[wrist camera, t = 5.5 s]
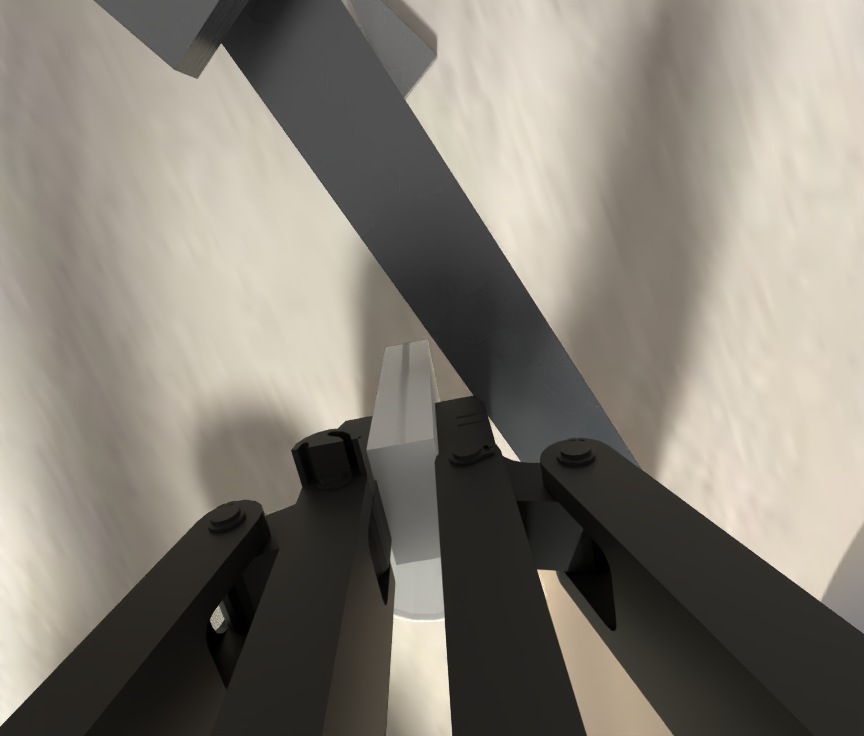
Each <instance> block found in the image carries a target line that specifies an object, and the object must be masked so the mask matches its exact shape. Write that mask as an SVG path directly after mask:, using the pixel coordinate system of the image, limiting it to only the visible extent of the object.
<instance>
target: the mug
mask: <svg viewBox="0 0 864 736" xmlns="http://www.w3.org/2000/svg"><path fill="white" fill-rule="evenodd" d="M390 562H391V566H392V569H393V573H394V577H395V582H396V583H395V598H394V614H393V617H395V618H399V619H403V620H407V621H410V622H438V621H442V620H445V616H444V601H443V586H442V570H441V558H435V559H429V560H424V561H417V562H411V563H405V564H400V565H396V562H395V558H394V555H393V551H392V547H391V557H390Z"/></svg>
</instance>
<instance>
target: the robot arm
mask: <svg viewBox="0 0 864 736" xmlns="http://www.w3.org/2000/svg"><path fill="white" fill-rule="evenodd" d="M291 451H292V455H293V458H294V461H295V464H296V468H297V471H298V474H299V477H300V480H301V484H302V489H301V492H300V495H299V498H298V500H297V503H296V504H295V505H292V506H290V507H288V508H285V509H283V510H280V511H277V512H275V513H272V514H269V515H266V516H265V514H264V511H263V508H262V505H261V504H259V503H258V502H256V501H251V500H242V501H232V502H228V503H227V504H226V503H225V504H223V505H220V506H218V507H217V508H216V509H214V510H212V511H211V512H209V513H207V514H206V515H205V516H203V517H202V518H201V519H200V520H199V521H197V522H196V523H195V524H194V526H193V527H192V528H191V529H190V530H189V531H188V532H187V533H186V534H185V535H184V536H183V537H182V538H181V539H180V540H179V541H178V542H177V543H176V544H175V545H174V546H173V547H172V548H171V549H170V551H169V552H168V553H167V554H166V555H165V556H164V557H163V558H162V559H161V560H160V561H159V562H158V563H157V564H156V565H155V566H154V567H153V568H152V569H151V570H150V571H149V572H148V573H147V574H146V575H145V577H144V578H143V579H142V580H141V581H140V582H139V583H138V584H137V585H136V586H135V587H134V588H133V589H132V590H131V591H130V592H129V593H128V594H127V595H126V596H125V597H124V598H123V599H122V600H121V602H120V603H119V604H118V605H117V606H116V607H115V608H114V609H113V610H112V611H111V612H110V613H109V614H108V615H107V616H106V617H105V618H104V619H103V620H102V621H101V622H100V623H99V624H98V625H97V627H96V628H95V629H94V630H93V631H92V632H91V633H90V634H89V635H88V636H87V637H86V638H85V639H84V640H83V641H82V642H81V643H80V644H79V645H78V646H77V647H76V648H75V649H74V650H73V652H72V653H71V654H70V655H69V656H68V657H67V658H66V659H65V660H64V661H63V662H62V663H61V664H60V665H59V666H58V667H57V668H56V669H55V670H54V671H53V672H52V673H51V674H50V675H49V676H48V678H47V679H46V680H45V681H44V682H43V683H42V684H41V685H40V686H39V687H38V688H37V689H36V690H35V691H34V692H33V693H32V694H31V695H30V696H29V697H28V698H27V699H26V700H25V701H24V703H23V704H22V705H21V706H20V707H19V708H18V709H17V710H16V711H15V712H14V713H13V714H12V715H11V716H10V717H9V718H8V719H7V720H6V721H5V722H4V723H3V724H2V725H1V726H0V736H386V725H387V709H388V693H389V678H390V662H391V646H392V630H393V614H394V598H395V583H396V582H395V577H394V573H393V569H392V566H391V562H390V557H391V547H392V551H393V555H394V558H395V562H396V565H400V564H405V563H411V562H417V561H424V560H429V559H435V558H441V570H442V586H443V601H444V616H445V631H446V647H447V662H448V677H449V692H450V708H451V723H452V736H587V734H586V730H585V727H584V724H583V721H582V717H581V714H580V711H579V707H578V704H577V701H576V697H575V694H574V691H573V687H572V684H571V681H570V678H569V674H568V671H567V668H566V664H565V661H564V658H563V654H562V651H561V648H560V645H559V641H558V638H557V635H556V631H555V628H554V625H553V621H552V618H551V615H550V611H549V608H548V605H547V602H546V598H545V595H544V592H543V588H542V585H541V582H540V578H539V575H538V572H537V570H552V571H556V575H557V577H558V580H559V582H560V584H561V585H562V587H563V588H564V589H565V591H566V592H567V593H568V595H569V596H570V597H571V599H572V600H573V601H574V603H575V604H576V605H577V607H578V608H579V609H580V611H581V612H582V613H583V615H584V616H585V617H586V619H587V620H588V621H589V623H590V624H591V625H592V627H593V628H594V629H595V631H596V632H597V633H598V635H599V636H600V638H601V639H602V640H603V642H604V643H605V644H606V646H607V647H608V648H609V650H610V651H611V652H612V654H613V655H614V656H615V658H616V659H617V660H618V662H619V663H620V664H621V666H622V667H623V668H624V670H625V671H626V672H627V674H628V675H629V676H630V678H631V679H632V680H633V682H634V683H635V684H636V686H637V687H638V689H639V690H640V691H641V693H642V694H643V695H644V697H645V698H646V699H647V701H648V702H649V703H650V705H651V706H652V707H653V709H654V710H655V711H656V713H657V714H658V715H659V717H660V718H661V719H662V721H663V722H664V723H665V725H666V726H667V727H668V729H669V730H670V731H671V733H672V734H673V735H674V736H864V634H863V633H862V632H860V631H859V630H858V629H856V628H855V627H854V626H852V625H851V624H850V623H848V622H847V621H845V620H844V619H843V618H841V617H840V616H839V615H837V614H836V613H835V612H833V611H832V610H831V609H829V608H828V607H826V606H825V605H824V604H823V603H821V602H820V601H818V600H817V599H816V598H814V597H813V596H812V595H810V594H809V593H808V592H806V591H805V590H804V589H802V588H801V587H800V586H798V585H797V584H795V583H794V582H793V581H791V580H790V579H789V578H787V577H786V576H785V575H783V574H782V573H781V572H779V571H778V570H777V569H775V568H774V567H773V566H771V565H770V564H768V563H767V562H766V561H764V560H763V559H762V558H760V557H759V556H758V555H756V554H755V553H754V552H752V551H751V550H750V549H748V548H747V547H745V546H744V545H743V544H741V543H740V542H739V541H737V540H736V539H735V538H733V537H732V536H731V535H729V534H728V533H727V532H725V531H724V530H722V529H721V528H720V527H718V526H717V525H716V524H714V523H713V522H712V521H710V520H709V519H708V518H706V517H705V516H704V515H702V514H701V513H699V512H698V511H697V510H695V509H694V508H693V507H691V506H690V505H689V504H687V503H686V502H685V501H683V500H682V499H681V498H679V497H678V496H676V495H675V494H674V493H672V492H671V491H670V490H668V489H667V488H666V487H664V486H663V485H662V484H660V483H659V482H658V481H656V480H655V479H653V478H652V477H651V476H649V475H648V474H647V473H645V472H644V471H643V470H641V469H640V468H639V467H637V466H636V465H635V464H633V463H632V462H630V461H629V460H628V459H626V458H625V457H624V456H622V455H621V454H620V453H618V452H617V451H616V450H614V449H613V448H612V447H610V446H609V445H607V444H605V443H603V442H601V441H599V440H593V439H588V438H569V439H567V440H562V441H558V442H556V443H554V444H552V445H550V446H548V447H547V448H546V449H545V450H544V451H543V452H542V453H541V457H540V463H527V462H518V461H513V460H510V459H508V458H505V457H504V456H502V453H501V450H500V449H499V447H498V446H497V445H496V444H495V440H494V436H493V433H492V429H491V426H490V422H489V419H488V415H487V412H486V408H485V404H484V402H483V401H481V400H479V399H478V398H476V397H474V396H470V397H464V398H459V399H454V400H448V401H443V402H440V397H439V392H438V387H437V382H436V377H435V372H434V368H433V363H432V358H431V353H430V348H429V343H428V339H425V340H420V341H415V342H409V343H404V344H399V345H394V346H388V347H385V351H384V357H383V362H382V368H381V373H380V379H379V384H378V390H377V395H376V401H375V406H374V412H373V416H370V417H364V418H359V419H354V420H348V421H345V422H344V423H343V424H342V425H341V426H340V427H339V428H338V429H329V430H325V431H322V432H318V433H315V434H313V435H311V436H308V437H306V438H304V439H303V440H301V441H300V442H299V443H297V444H296V445H295V446H294V448H293V449H292V450H291ZM218 605H219V607H220V609H221V612H222V614H223V617H224V619H225V620H224V621H223V623H222V624H221V625H220V627H219V628H218V629H217V630H216V631H215V630H214V629H213V627H212V625H211V622H210V618H211V616H212V614H213V612H214V611H215V609H216V608H217V607H218Z"/></svg>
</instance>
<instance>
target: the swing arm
mask: <svg viewBox="0 0 864 736" xmlns="http://www.w3.org/2000/svg"><path fill="white" fill-rule="evenodd" d="M221 43H222V45H223V46H224V47H225V49H226V50H227V52H228V53H229V54H230V56H231V57H232V59H233V60H234V61H235V63H236V64H237V66H238V67H239V68H240V70H241V71H242V72H243V74H244V75H245V77H246V78H247V79H248V81H249V82H250V84H251V85H252V86H253V88H254V89H255V91H256V92H257V93H258V95H259V96H260V98H261V99H262V100H263V102H264V103H265V105H266V106H267V107H268V109H269V110H270V112H271V113H272V114H273V116H274V117H275V119H276V120H277V121H278V123H279V124H280V126H281V127H282V128H283V130H284V131H285V133H286V134H287V135H288V137H289V138H290V140H291V141H292V142H293V144H294V145H295V147H296V148H297V149H298V151H299V152H300V154H301V155H302V156H303V158H304V159H305V161H306V162H307V163H308V165H309V166H310V168H311V169H312V170H313V172H314V173H315V174H316V176H317V177H318V179H319V180H320V181H321V183H322V184H323V186H324V187H325V188H326V190H327V191H328V193H329V194H330V195H331V197H332V198H333V200H334V201H335V202H336V204H337V205H338V207H339V208H340V209H341V211H342V212H343V214H344V215H345V216H346V218H347V219H348V221H349V222H350V223H351V225H352V226H353V228H354V229H355V230H356V232H357V233H358V235H359V236H360V237H361V239H362V240H363V242H364V243H365V244H366V246H367V247H368V249H369V250H370V251H371V253H372V254H373V256H374V257H375V258H376V260H377V261H378V263H379V264H380V265H381V267H382V268H383V269H384V271H385V272H386V274H387V275H388V276H389V278H390V279H391V281H392V282H393V283H394V285H395V286H396V288H397V289H398V290H399V292H400V293H401V295H402V296H403V297H404V299H405V300H406V302H407V303H408V304H409V306H410V307H411V309H412V310H413V311H414V313H415V314H416V316H417V317H418V318H419V320H420V321H421V323H422V324H423V325H424V327H425V328H426V330H427V331H428V332H429V334H430V335H431V337H432V338H433V339H434V341H435V342H436V344H437V345H438V346H439V348H440V349H441V351H442V352H443V353H444V355H445V356H446V358H447V359H448V360H449V362H450V363H451V365H452V366H453V367H454V369H455V370H456V371H457V373H458V374H459V376H460V377H461V378H462V380H463V381H464V383H465V384H466V385H467V387H468V388H469V390H470V391H471V392H472V394H473V395H474V397H476V398H478V399H479V400H481V401H483V402H484V404H485V408H486V412H487V415H488V416H489V418H490V419H491V420H492V422H493V423H494V425H495V426H496V427H497V429H498V430H499V432H500V433H501V434H502V436H503V437H504V439H505V440H506V441H507V443H508V444H509V446H510V447H511V448H512V450H513V451H514V453H515V454H516V455H517V457H518V458H519V460H520V461H521V462H527V463H540V457H541V453H542V452H543V451H544V450H545V449H546V448H547V447H548V446H550V445H552V444H554V443H556V442H558V441H562V440H567V439H569V438H588V439H593V440H599V441H601V442H603V443H605V444H607V445H609V446H610V447H612V448H613V449H614V450H616V451H617V452H618V453H620V454H621V455H622V456H624V457H625V458H626V459H628V460H629V461H630V462H632V463H633V464H635V465H636V466H637V467H639V468H640V466H639V465H638V463H637V462H636V460H635V459H634V457H633V455H632V454H631V452H630V451H629V449H628V448H627V446H626V445H625V443H624V441H623V440H622V438H621V437H620V435H619V434H618V432H617V430H616V429H615V427H614V426H613V424H612V423H611V421H610V420H609V418H608V416H607V415H606V413H605V412H604V410H603V409H602V407H601V405H600V404H599V402H598V401H597V399H596V398H595V396H594V395H593V393H592V391H591V390H590V388H589V387H588V385H587V384H586V382H585V380H584V379H583V377H582V376H581V374H580V373H579V371H578V369H577V368H576V366H575V365H574V363H573V362H572V360H571V359H570V357H569V355H568V354H567V352H566V351H565V349H564V348H563V346H562V344H561V343H560V341H559V340H558V338H557V337H556V335H555V334H554V332H553V330H552V329H551V327H550V326H549V324H548V323H547V321H546V319H545V318H544V316H543V315H542V313H541V312H540V310H539V309H538V307H537V305H536V304H535V302H534V301H533V299H532V298H531V296H530V294H529V293H528V291H527V290H526V288H525V287H524V285H523V284H522V282H521V280H520V279H519V277H518V276H517V274H516V273H515V271H514V269H513V268H512V266H511V265H510V263H509V262H508V260H507V259H506V257H505V255H504V254H503V252H502V251H501V249H500V248H499V246H498V244H497V243H496V241H495V240H494V238H493V237H492V235H491V233H490V232H489V230H488V229H487V227H486V226H485V224H484V223H483V221H482V219H481V218H480V216H479V215H478V213H477V212H476V210H475V208H474V207H473V205H472V204H471V202H470V201H469V199H468V198H467V196H466V194H465V193H464V191H463V190H462V188H461V187H460V185H459V183H458V182H457V180H456V179H455V177H454V176H453V174H452V173H451V171H450V169H449V168H448V166H447V165H446V163H445V162H444V160H443V158H442V157H441V155H440V154H439V152H438V151H437V149H436V148H435V146H434V144H433V143H432V141H431V140H430V138H429V137H428V135H427V133H426V132H425V130H424V129H423V127H422V126H421V124H420V122H419V121H418V119H417V118H416V116H415V115H414V113H413V112H412V110H411V108H410V107H409V105H408V104H407V102H406V101H405V99H404V97H403V96H402V94H401V93H400V91H399V90H398V88H397V87H396V85H395V83H394V82H393V80H392V79H391V77H390V76H389V74H388V72H387V71H386V69H385V68H384V66H383V65H382V63H381V62H380V60H379V58H378V57H377V55H376V54H375V52H374V51H373V49H372V47H371V46H370V44H369V43H368V41H367V40H366V38H365V37H364V35H363V33H362V32H361V30H360V29H359V27H358V26H357V24H356V22H355V21H354V19H353V18H352V16H351V15H350V13H349V11H348V10H347V8H346V7H345V5H344V4H343V2H342V1H341V0H252V1H251V2H250V3H248V4H247V5H246V6H245V8H244V9H243V11H242V12H241V14H240V15H239V17H238V18H237V20H236V21H235V23H234V24H233V26H232V27H231V29H230V30H229V32H228V33H227V35H226V36H225V38H224V39H223V41H222V42H221ZM640 469H641V468H640Z"/></svg>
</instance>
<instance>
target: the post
mask: <svg viewBox="0 0 864 736" xmlns="http://www.w3.org/2000/svg"><path fill="white" fill-rule="evenodd" d="M94 1H95V2H96V3H97V4H99V5H100V6H101V7H102V8H103V9H104V10H106V11H107V12H108V13H109V14H110V15H111V16H113V17H114V18H115V19H116V20H117V21H118V22H119V23H121V24H122V25H123V26H124V27H125V28H126V29H128V30H129V31H130V32H131V33H132V34H133V35H135V36H136V37H137V38H138V39H139V40H140V41H142V42H143V43H144V44H145V45H146V46H147V47H149V48H150V49H151V50H152V51H153V52H154V53H156V54H157V55H158V56H159V57H160V58H161V59H163V60H164V61H165V62H166V63H167V64H168V65H170V66H171V67H172V68H173V69H174V70H176V71H179V72H181V73H184V74H186V75H189V76H191V77H194V78H197V79H198V77H199V76H200V74H201V73H202V71H203V70H204V68H205V67H206V65H207V64H208V62H209V61H210V59H211V58H212V56H213V55H214V53H215V51H216V50H217V48H218V47H219V45H220V44H221V42H222V41H223V39H224V38H225V36H226V35H227V33H228V32H229V30H230V29H231V27H232V26H233V24H234V23H235V21H236V20H237V18H238V17H239V15H240V14H241V12H242V11H243V9H244V8H245V6H246V5H247V4H248V3H250V2H251V1H252V0H94ZM341 1H342V2H343V4H344V5H345V7H346V8H347V10H348V11H349V13H350V15H351V16H352V18H353V19H354V21H355V22H356V24H357V26H358V27H359V29H360V30H361V32H362V33H363V35H364V37H365V38H366V40H367V41H368V43H369V44H370V46H371V47H372V49H373V51H374V52H375V54H376V55H377V57H378V58H379V60H380V62H381V63H382V65H383V66H384V68H385V69H386V71H387V72H388V74H389V76H390V77H391V79H392V80H393V82H394V83H395V85H396V87H397V88H398V90H399V91H400V93H401V94H402V96H403V97H404V99H406V97H407V96H408V95H409V94H410V92H411V91H412V90H413V88H414V87H415V86H416V85H417V83H418V82H419V81H420V79H421V78H422V77H423V76H424V74H425V73H426V72H427V70H428V69H429V68H430V67H431V65H432V64H433V63H434V61H435V60H436V59H437V54H436V53H435V52H434V51H433V50H432V49H431V48H430V47H429V46H428V45H427V44H426V43H425V42H424V41H423V40H422V39H421V38H420V37H419V36H418V35H417V34H416V33H414V32H413V31H412V30H411V29H410V28H409V27H408V26H407V25H406V24H405V23H404V22H403V21H402V20H401V19H400V18H399V17H398V16H397V15H396V14H395V13H394V12H393V11H392V10H391V9H390V8H389V7H388V6H387V5H386V4H385V3H384V2H383V1H382V0H341Z"/></svg>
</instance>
